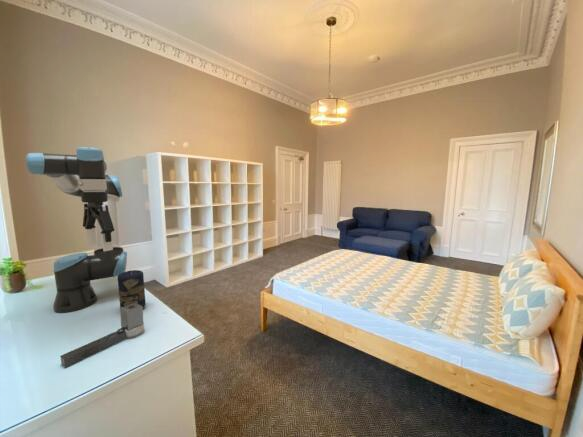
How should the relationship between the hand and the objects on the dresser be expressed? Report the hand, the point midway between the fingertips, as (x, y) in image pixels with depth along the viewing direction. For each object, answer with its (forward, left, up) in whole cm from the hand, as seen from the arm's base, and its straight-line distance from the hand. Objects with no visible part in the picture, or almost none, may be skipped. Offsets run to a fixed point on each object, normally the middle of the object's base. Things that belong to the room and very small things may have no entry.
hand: (99, 247), depth 93 cm
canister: (-5, +12, -32) cm, 34 cm away
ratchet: (+14, -5, -31) cm, 35 cm away
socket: (+14, +3, -28) cm, 32 cm away
